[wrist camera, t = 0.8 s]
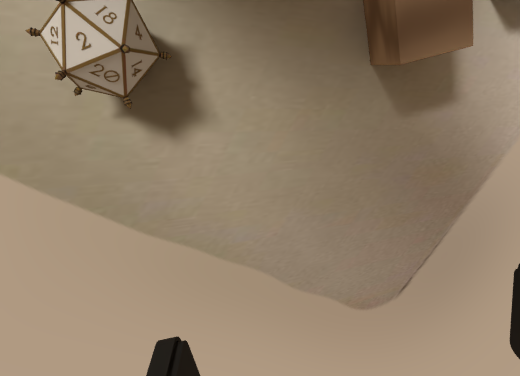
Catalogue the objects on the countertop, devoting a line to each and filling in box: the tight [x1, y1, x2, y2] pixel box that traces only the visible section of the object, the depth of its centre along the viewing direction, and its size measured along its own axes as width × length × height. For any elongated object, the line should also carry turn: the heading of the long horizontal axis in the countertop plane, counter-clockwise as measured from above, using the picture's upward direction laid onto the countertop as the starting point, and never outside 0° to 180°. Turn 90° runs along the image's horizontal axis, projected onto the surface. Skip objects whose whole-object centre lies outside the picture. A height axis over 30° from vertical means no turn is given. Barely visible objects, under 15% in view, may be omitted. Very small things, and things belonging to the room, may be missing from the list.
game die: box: [26, 0, 171, 109], centre depth 25 cm, size 9×8×10 cm
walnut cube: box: [363, 0, 473, 65], centre depth 26 cm, size 6×6×6 cm
